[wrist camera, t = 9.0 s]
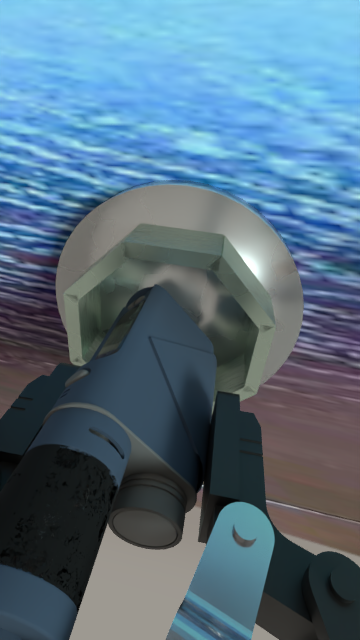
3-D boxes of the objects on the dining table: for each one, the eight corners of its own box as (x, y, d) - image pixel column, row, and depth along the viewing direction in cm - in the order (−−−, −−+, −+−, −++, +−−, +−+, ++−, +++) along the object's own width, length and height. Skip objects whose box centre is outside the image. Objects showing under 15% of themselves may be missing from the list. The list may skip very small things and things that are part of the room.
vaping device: (153, 270, 14) (-86, 686, 4) (228, 356, 16) (201, 808, 5) (111, 301, 15) (-162, 688, 5) (185, 379, 17) (96, 788, 7)
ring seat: (54, 163, 15) (5, 176, 12) (334, 199, 14) (362, 223, 11) (74, 372, 21) (45, 417, 18) (267, 407, 20) (272, 460, 17)
